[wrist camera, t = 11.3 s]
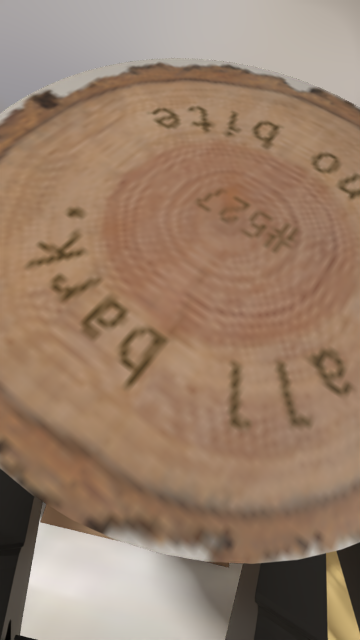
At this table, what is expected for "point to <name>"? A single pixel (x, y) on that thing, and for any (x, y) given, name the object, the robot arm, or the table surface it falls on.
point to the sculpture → (339, 603)
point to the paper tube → (184, 308)
